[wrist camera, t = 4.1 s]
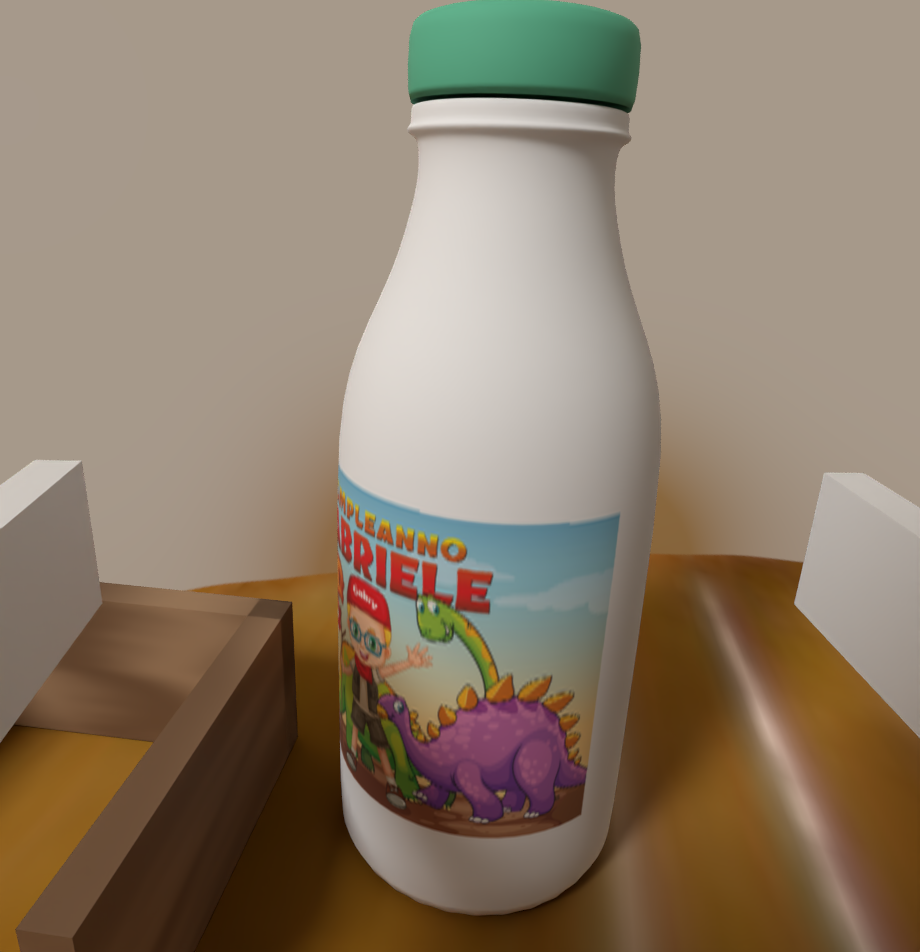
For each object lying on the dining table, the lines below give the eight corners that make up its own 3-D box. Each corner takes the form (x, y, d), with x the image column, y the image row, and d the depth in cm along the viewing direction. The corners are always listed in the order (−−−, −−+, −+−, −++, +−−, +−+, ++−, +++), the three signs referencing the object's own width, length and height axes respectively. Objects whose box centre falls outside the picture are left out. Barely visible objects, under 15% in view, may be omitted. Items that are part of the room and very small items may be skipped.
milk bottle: (444, 691, 27) (472, 61, 20) (650, 788, 23) (776, 42, 16) (283, 827, 21) (239, -7, 14) (523, 991, 17) (634, -65, 10)
